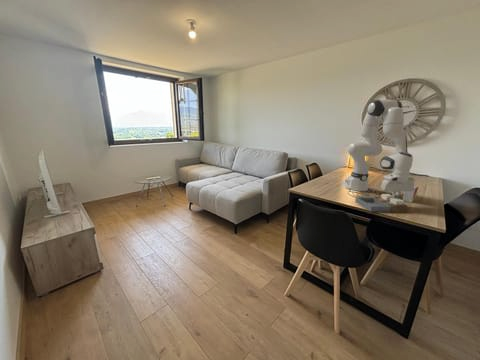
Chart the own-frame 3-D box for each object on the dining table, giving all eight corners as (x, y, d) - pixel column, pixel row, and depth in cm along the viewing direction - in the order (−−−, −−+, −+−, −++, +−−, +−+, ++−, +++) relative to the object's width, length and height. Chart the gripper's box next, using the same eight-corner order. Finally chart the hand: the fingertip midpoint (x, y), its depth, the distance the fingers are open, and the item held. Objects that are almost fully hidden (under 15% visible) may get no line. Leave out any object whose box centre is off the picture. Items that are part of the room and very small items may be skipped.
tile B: (389, 201, 128) (390, 198, 128) (397, 201, 129) (397, 198, 128) (395, 204, 124) (396, 201, 123) (403, 204, 124) (404, 201, 123)
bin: (355, 201, 138) (356, 197, 137) (372, 202, 138) (373, 197, 138) (370, 211, 123) (371, 206, 122) (389, 211, 123) (391, 206, 122)
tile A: (380, 197, 136) (381, 194, 135) (387, 197, 136) (388, 194, 136) (386, 200, 131) (387, 196, 131) (393, 200, 131) (394, 196, 131)
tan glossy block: (373, 202, 139) (374, 196, 137) (387, 202, 139) (388, 196, 138) (390, 211, 123) (392, 205, 122) (406, 211, 123) (407, 205, 122)
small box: (411, 202, 139) (415, 188, 136) (401, 200, 143) (405, 186, 140) (415, 200, 143) (418, 186, 141) (405, 197, 148) (408, 184, 145)
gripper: (410, 176, 133) (405, 195, 137) (381, 176, 133) (377, 195, 136) (419, 178, 127) (413, 198, 131) (388, 178, 127) (384, 198, 130)
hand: (395, 197), depth 134 cm, fingers closed
